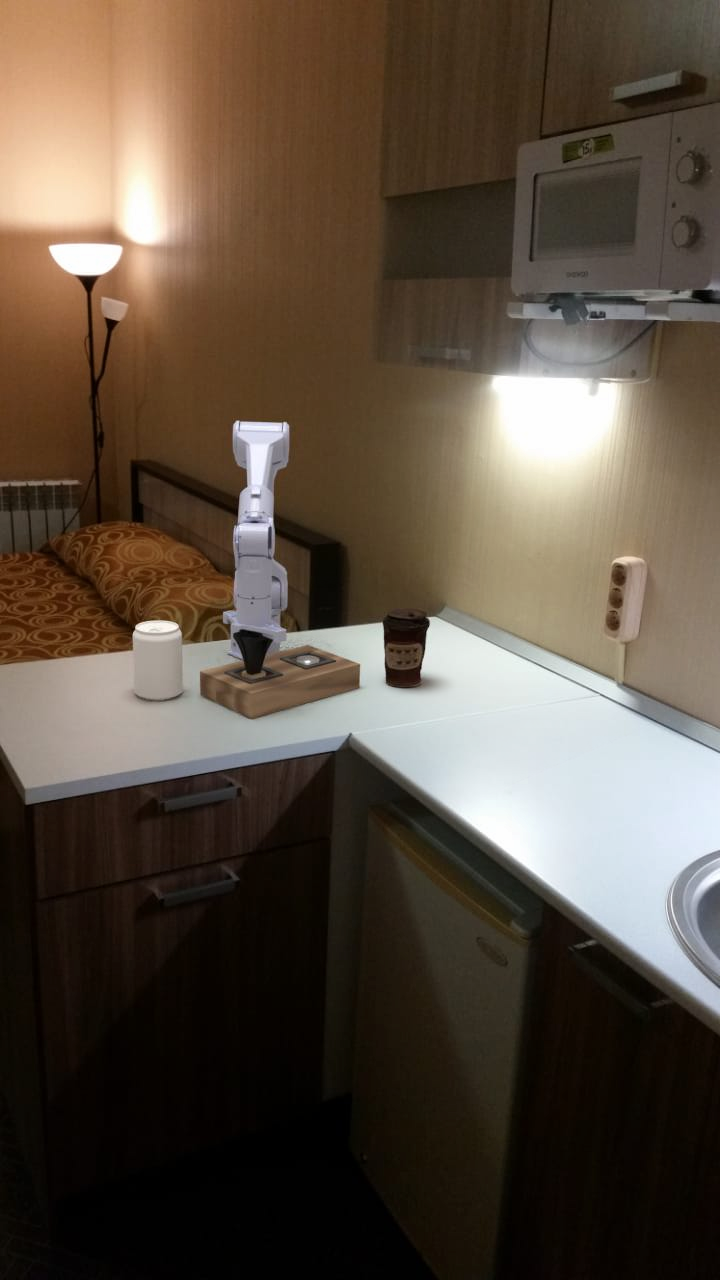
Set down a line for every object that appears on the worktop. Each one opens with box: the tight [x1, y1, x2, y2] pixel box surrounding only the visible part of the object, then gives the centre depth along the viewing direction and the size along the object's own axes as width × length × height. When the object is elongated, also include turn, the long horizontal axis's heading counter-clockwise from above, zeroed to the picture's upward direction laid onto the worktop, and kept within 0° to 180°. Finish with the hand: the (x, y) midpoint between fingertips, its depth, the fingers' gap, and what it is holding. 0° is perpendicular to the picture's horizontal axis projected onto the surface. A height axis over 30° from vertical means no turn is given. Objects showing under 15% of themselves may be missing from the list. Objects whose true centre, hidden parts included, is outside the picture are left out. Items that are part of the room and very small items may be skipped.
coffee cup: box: [382, 608, 431, 688], centre depth 192 cm, size 9×8×13 cm
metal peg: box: [297, 656, 319, 665], centre depth 191 cm, size 4×4×4 cm
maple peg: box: [242, 670, 266, 680], centre depth 183 cm, size 4×4×4 cm
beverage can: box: [132, 620, 184, 701], centre depth 183 cm, size 8×8×12 cm
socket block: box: [199, 644, 361, 720], centre depth 187 cm, size 14×24×5 cm, turn 134°
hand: (253, 673), depth 182 cm, fingers closed, pressing on maple peg
